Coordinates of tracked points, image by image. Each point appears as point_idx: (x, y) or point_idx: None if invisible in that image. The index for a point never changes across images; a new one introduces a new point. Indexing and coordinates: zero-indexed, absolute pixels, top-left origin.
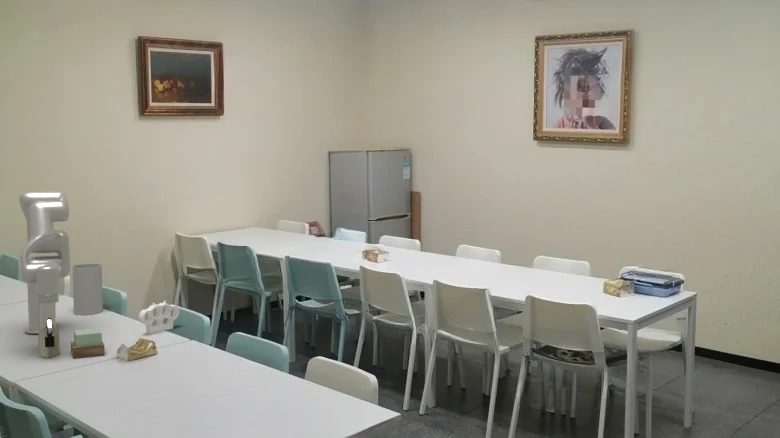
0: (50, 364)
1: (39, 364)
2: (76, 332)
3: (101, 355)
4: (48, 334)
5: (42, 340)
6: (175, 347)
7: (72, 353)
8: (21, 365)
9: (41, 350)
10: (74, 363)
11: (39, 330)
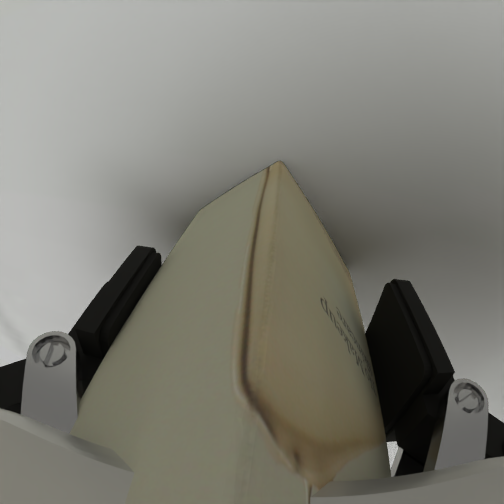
0: (23, 204)
1: (37, 140)
2: None
3: None
4: (9, 376)
5: (190, 270)
6: None
7: None
8: (63, 21)
9: (242, 196)
10: (27, 307)
11: (201, 397)
